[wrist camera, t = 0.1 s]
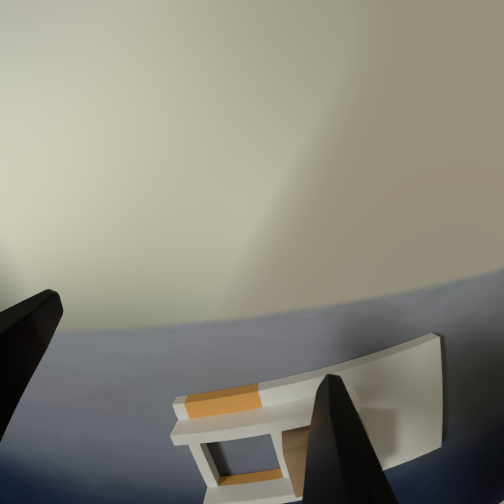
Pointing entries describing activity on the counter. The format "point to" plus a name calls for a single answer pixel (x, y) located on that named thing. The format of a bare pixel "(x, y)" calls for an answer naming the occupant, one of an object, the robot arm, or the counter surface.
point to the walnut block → (297, 455)
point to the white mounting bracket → (300, 413)
